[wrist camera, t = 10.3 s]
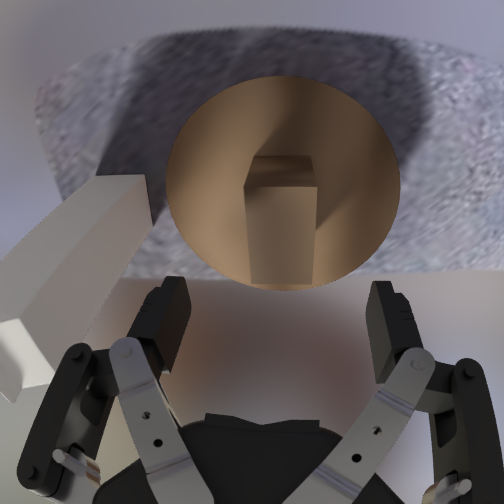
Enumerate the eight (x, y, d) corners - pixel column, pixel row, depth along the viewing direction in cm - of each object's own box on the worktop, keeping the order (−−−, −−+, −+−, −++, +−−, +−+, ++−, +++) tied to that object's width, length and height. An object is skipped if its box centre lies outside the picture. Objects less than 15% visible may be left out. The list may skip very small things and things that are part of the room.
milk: (145, 173, 28) (-10, 362, 10) (153, 228, 31) (46, 421, 13) (93, 175, 28) (-60, 333, 10) (105, 226, 32) (-12, 391, 14)
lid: (405, 83, 16) (448, 96, 11) (377, 282, 25) (393, 337, 20) (154, 87, 17) (108, 102, 13) (190, 280, 27) (170, 332, 22)
